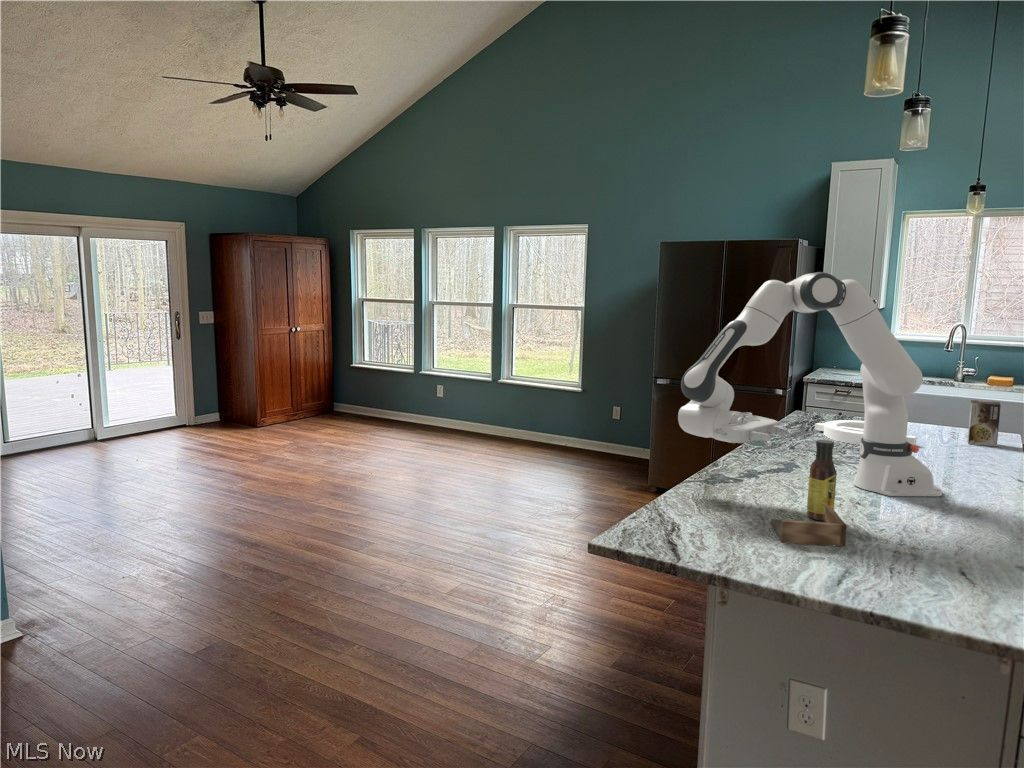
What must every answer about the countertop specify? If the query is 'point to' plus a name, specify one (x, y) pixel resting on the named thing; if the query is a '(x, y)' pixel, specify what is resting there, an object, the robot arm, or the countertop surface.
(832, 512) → the corner arena
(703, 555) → the countertop surface
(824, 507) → the sauce bottle
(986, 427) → the food box
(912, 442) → the ring with crossbar
